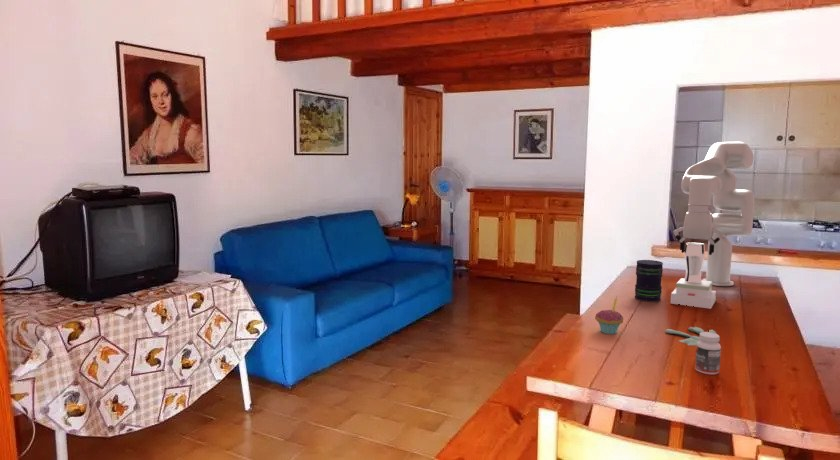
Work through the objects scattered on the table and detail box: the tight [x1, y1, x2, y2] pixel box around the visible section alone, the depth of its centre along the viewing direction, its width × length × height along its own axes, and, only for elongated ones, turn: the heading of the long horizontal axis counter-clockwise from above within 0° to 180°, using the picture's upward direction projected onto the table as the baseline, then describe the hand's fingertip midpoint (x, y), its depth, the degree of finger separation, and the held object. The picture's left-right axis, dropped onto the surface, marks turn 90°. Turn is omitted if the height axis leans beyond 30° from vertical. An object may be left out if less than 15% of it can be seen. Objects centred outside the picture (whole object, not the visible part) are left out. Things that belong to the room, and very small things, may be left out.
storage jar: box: [634, 259, 664, 303], centre depth 223 cm, size 10×10×15 cm
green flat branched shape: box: [665, 326, 721, 347], centre depth 178 cm, size 20×22×2 cm
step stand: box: [670, 277, 717, 310], centre depth 218 cm, size 14×14×8 cm
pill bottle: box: [694, 331, 722, 376], centre depth 147 cm, size 6×6×10 cm
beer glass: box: [684, 242, 706, 283], centre depth 217 cm, size 7×7×15 cm
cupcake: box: [594, 295, 624, 335], centre depth 180 cm, size 9×8×12 cm
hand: (696, 253), depth 217 cm, fingers open, 9 cm apart
